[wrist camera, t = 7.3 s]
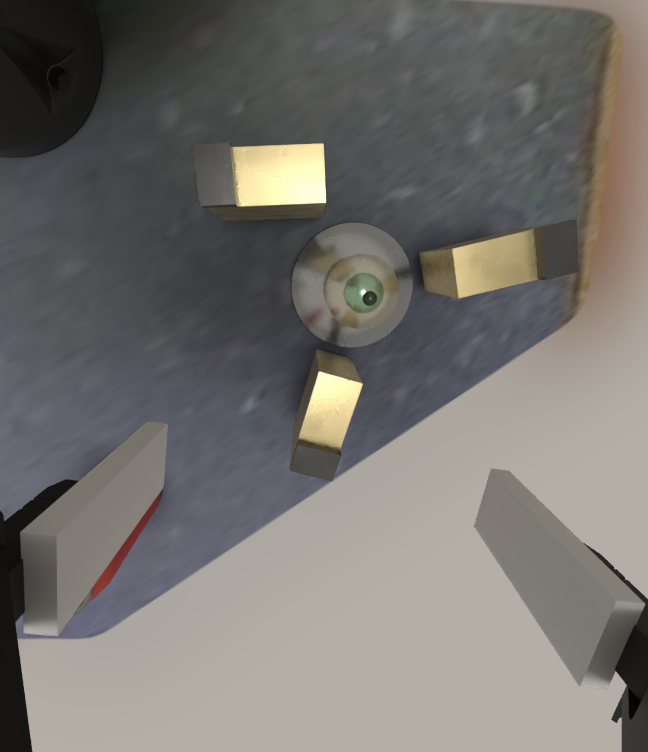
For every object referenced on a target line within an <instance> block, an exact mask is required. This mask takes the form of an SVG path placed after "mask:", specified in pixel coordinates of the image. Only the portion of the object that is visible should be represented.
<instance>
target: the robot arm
mask: <svg viewBox="0 0 648 752" xmlns="http://www.w3.org/2000/svg"><path fill="white" fill-rule="evenodd" d="M101 66H102V50H101V39H100V33H99V27H98V23H97V19H96V15H95V12H94V8H93V5H92V3H91V0H0V156H4V157H25V156H32V155H37V154H40V153H43V152H46V151H48V150H51V149H53V148H55V147H57V146H58V145H60V144H62V143H63V142H64V141H66V140H67V139H68V138H70V137H71V136H72V135H73V134H74V133H75V132H76V131H77V129H78V128H79V127H80V126H81V125H82V123H83V122H84V120H85V119H86V117H87V116H88V114H89V112H90V110H91V108H92V106H93V103H94V101H95V98H96V95H97V91H98V87H99V83H100V76H101ZM167 430H168V424H164V423H157V422H149V421H148V422H146V423H145V424H144V425H143V426H142V427H141V428H139V429H138V430H137V431H136V432H135V433H134V434H133V435H131V436H130V437H129V438H128V439H127V440H126V441H125V442H123V443H122V444H121V445H120V446H119V447H118V448H116V449H115V450H114V451H113V452H112V453H111V454H110V455H108V456H107V457H106V458H105V459H104V460H103V461H102V462H100V463H99V464H98V465H97V466H96V467H95V468H93V469H92V470H91V471H90V472H89V473H88V474H87V475H85V476H84V477H83V478H82V479H81V480H80V481H75V480H67V479H66V480H63V481H61V482H59V483H56V484H54V485H52V486H50V487H47V488H46V489H45V490H44V491H42V492H41V493H40V494H39V495H37V496H36V497H35V498H34V500H31V501H30V502H28V503H27V504H26V505H25V506H23V508H22V509H20V510H18V511H17V512H16V513H14V514H13V515H12V516H11V517H9V518H8V519H7V520H6V521H4V515H3V514H2V512H1V511H0V752H32V746H31V738H30V731H29V723H28V716H27V708H26V701H25V693H24V686H23V679H22V671H21V663H20V656H19V648H18V640H17V633H16V625H15V622H16V621H17V620H18V619H19V617H20V616H21V615H22V614H23V626H24V633H28V634H38V635H48V636H58V635H59V634H60V632H61V631H62V629H63V628H64V627H65V625H66V624H67V622H68V621H69V620H70V618H71V617H72V615H73V614H74V613H75V611H76V610H77V608H78V607H79V606H80V604H81V603H82V601H83V600H84V598H85V597H86V596H87V594H88V593H89V591H90V590H91V589H92V587H93V586H94V584H95V583H96V582H97V580H98V579H99V577H100V576H101V575H102V573H103V572H104V570H105V569H106V568H107V566H108V565H109V563H110V562H111V560H112V559H113V558H114V556H115V555H116V553H117V552H118V551H119V549H120V548H121V546H122V545H123V544H124V542H125V541H126V539H127V538H128V537H129V535H130V534H131V532H132V531H133V530H134V528H135V527H136V525H137V524H138V522H139V521H140V520H141V518H142V517H143V515H144V514H145V513H146V511H147V510H148V508H149V507H150V506H151V504H152V503H153V501H154V500H155V499H156V497H157V496H158V494H159V493H160V492H161V490H162V489H163V487H164V474H165V459H166V445H167ZM474 527H475V528H476V530H477V531H478V533H479V534H480V536H481V537H482V539H483V541H484V542H485V544H486V545H487V546H488V548H489V550H490V551H491V553H492V554H493V556H494V557H495V559H496V560H497V562H498V563H499V565H500V566H501V568H502V569H503V571H504V572H505V574H506V575H507V577H508V579H509V580H510V581H511V583H512V584H513V586H514V588H515V589H516V591H517V592H518V594H519V595H520V597H521V598H522V600H523V601H524V603H525V604H526V606H527V607H528V609H529V611H530V612H531V613H532V615H533V617H534V618H535V619H536V621H537V622H538V624H539V626H540V627H541V629H542V630H543V632H544V633H545V635H546V636H547V638H548V639H549V641H550V642H551V644H552V646H553V647H554V648H555V650H556V652H557V653H558V654H559V656H560V658H561V659H562V661H563V662H564V664H565V665H566V667H567V668H568V670H569V671H570V673H571V674H572V676H573V678H574V679H575V680H576V682H577V683H578V685H579V687H586V688H596V689H608V687H609V684H610V682H611V680H612V678H613V675H614V673H615V671H616V672H617V673H618V674H619V676H620V677H621V678H622V679H623V681H624V682H625V683H626V685H627V686H626V688H625V691H624V693H623V695H622V697H621V699H620V702H619V704H618V706H617V708H616V710H615V712H614V715H613V717H612V719H611V720H613V721H614V722H616V723H617V721H618V719H619V718H620V717H622V752H648V599H647V598H646V597H645V596H644V595H643V594H642V593H641V592H640V591H639V590H638V589H636V588H635V587H634V586H633V585H632V584H631V583H630V582H629V581H628V580H625V577H624V576H623V575H622V574H621V573H620V572H619V571H618V570H616V569H614V567H613V566H612V565H611V564H610V563H609V562H608V561H607V560H606V559H605V558H604V557H603V556H602V555H600V554H599V553H598V552H596V551H595V550H593V549H592V548H590V547H589V546H587V545H586V544H584V543H582V542H581V541H580V540H579V539H578V538H577V537H576V536H575V535H574V534H573V533H572V532H571V531H570V530H569V529H568V528H567V527H566V526H565V525H564V524H563V523H562V522H561V521H560V520H559V519H558V518H557V517H556V516H555V515H554V514H553V513H552V512H551V511H550V510H548V509H547V508H546V507H545V506H544V505H543V504H542V503H541V502H540V501H539V500H538V499H537V498H536V497H535V496H534V495H533V494H532V493H531V492H530V491H529V490H528V489H527V488H526V487H525V486H524V485H523V484H522V483H521V482H520V481H519V480H518V479H517V478H516V477H515V476H514V475H513V474H511V472H509V471H506V470H499V469H491V471H490V474H489V478H488V481H487V484H486V488H485V491H484V494H483V498H482V501H481V505H480V508H479V511H478V515H477V518H476V522H475V525H474Z"/></svg>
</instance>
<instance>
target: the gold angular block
mask: <svg viewBox="0 0 648 752" xmlns="http://www.w3.org/2000/svg"><path fill="white" fill-rule="evenodd" d="M192 152H193V160H194V168H195V175H196V183H197V191H198V199H199V206H201V207H202V208H204V209H206V210H208V211H210V212H211V213H213V214H215V215H217V216H219V217H220V218H222V219H224V220H226V221H228V222H231V221H253V220H275V219H297V218H319V217H322V214H323V211H324V207H325V204H326V192H325V168H324V144H299V145H274V146H248V147H232V146H231V144H230V143H207V144H192Z"/></svg>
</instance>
